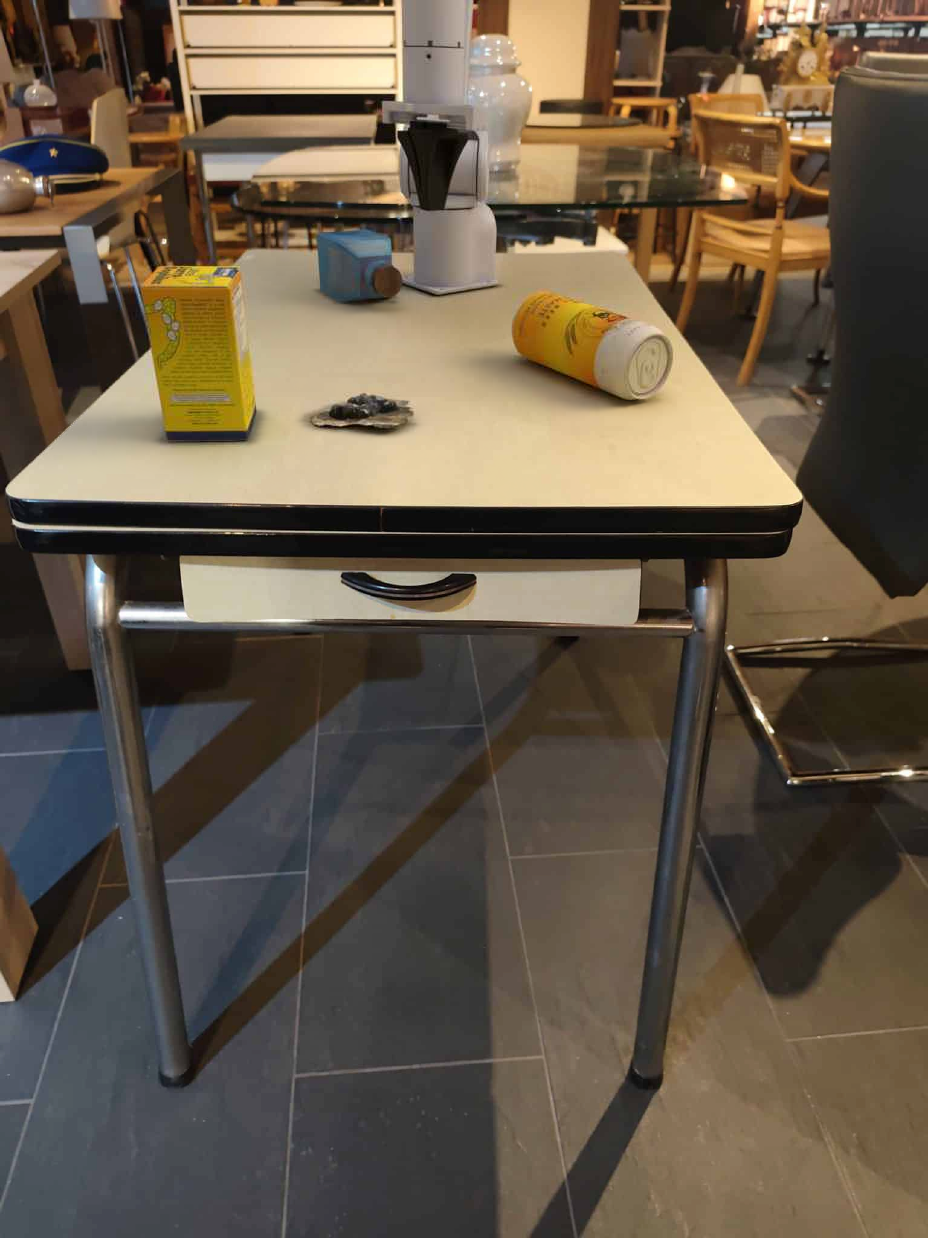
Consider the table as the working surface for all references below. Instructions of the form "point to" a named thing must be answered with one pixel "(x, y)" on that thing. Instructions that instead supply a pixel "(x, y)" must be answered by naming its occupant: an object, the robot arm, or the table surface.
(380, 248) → the perfume bottle
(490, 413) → the table surface
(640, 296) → the table surface
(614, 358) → the beer can
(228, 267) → the supplement box
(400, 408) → the grey flat lumpy piece
